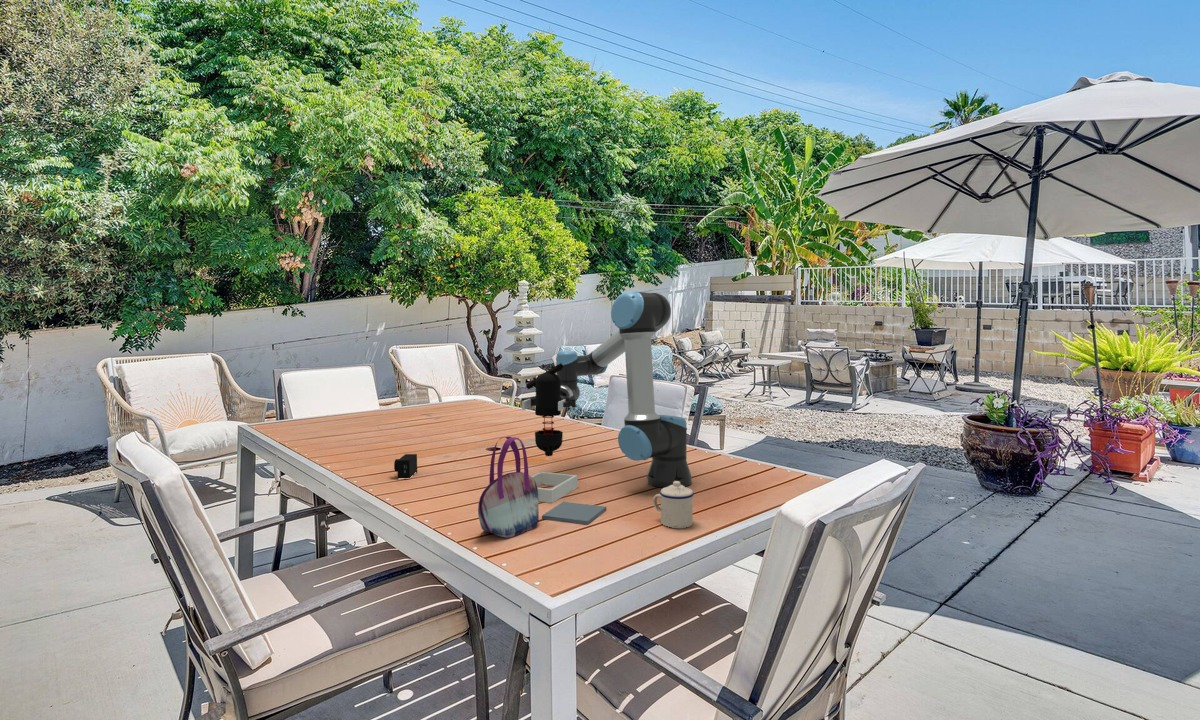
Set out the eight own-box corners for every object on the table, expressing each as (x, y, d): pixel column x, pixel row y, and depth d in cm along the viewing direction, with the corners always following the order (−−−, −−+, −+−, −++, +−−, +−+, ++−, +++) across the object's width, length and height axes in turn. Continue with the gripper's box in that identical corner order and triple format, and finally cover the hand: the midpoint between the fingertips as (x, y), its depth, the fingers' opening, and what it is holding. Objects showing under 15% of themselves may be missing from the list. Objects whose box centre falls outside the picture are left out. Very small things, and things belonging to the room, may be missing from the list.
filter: (570, 454, 201) (570, 362, 198) (556, 460, 192) (556, 364, 190) (535, 450, 207) (534, 360, 204) (519, 455, 198) (519, 362, 196)
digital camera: (402, 472, 228) (402, 453, 228) (417, 472, 229) (416, 453, 228) (394, 479, 218) (393, 460, 218) (409, 479, 218) (409, 460, 218)
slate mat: (606, 509, 182) (606, 506, 182) (587, 524, 169) (587, 521, 169) (563, 504, 187) (563, 501, 187) (542, 518, 174) (541, 515, 174)
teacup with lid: (699, 522, 170) (699, 480, 169) (682, 531, 163) (682, 488, 162) (662, 514, 177) (662, 474, 177) (644, 522, 170) (644, 481, 169)
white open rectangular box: (577, 487, 206) (577, 475, 206) (552, 503, 189) (552, 490, 189) (540, 483, 212) (540, 471, 211) (512, 498, 194) (512, 485, 194)
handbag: (524, 515, 177) (523, 429, 175) (551, 522, 171) (550, 432, 169) (467, 537, 160) (465, 441, 158) (494, 545, 154) (492, 446, 152)
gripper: (592, 408, 214) (577, 418, 192) (527, 407, 219) (505, 417, 197) (592, 387, 213) (577, 394, 192) (527, 386, 218) (505, 393, 197)
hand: (541, 406), depth 195 cm, fingers closed on filter, 11 cm apart
